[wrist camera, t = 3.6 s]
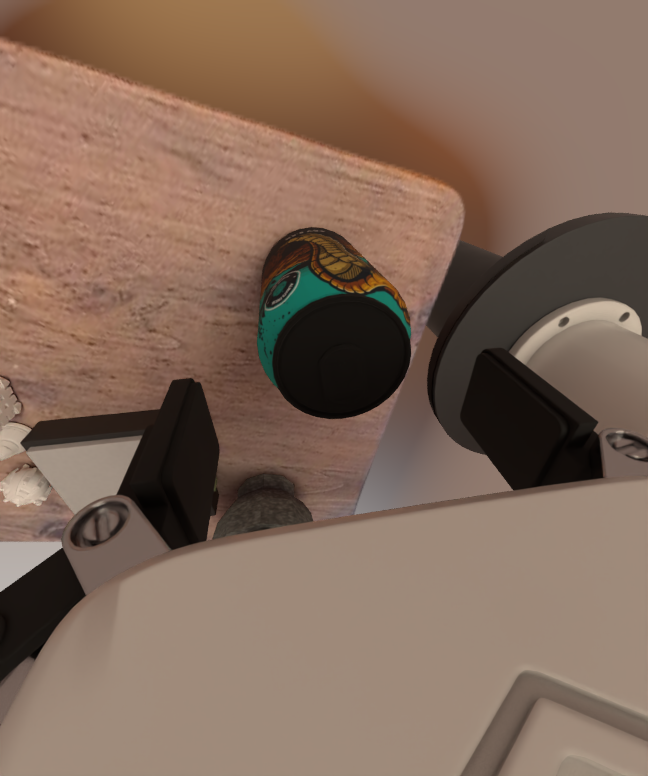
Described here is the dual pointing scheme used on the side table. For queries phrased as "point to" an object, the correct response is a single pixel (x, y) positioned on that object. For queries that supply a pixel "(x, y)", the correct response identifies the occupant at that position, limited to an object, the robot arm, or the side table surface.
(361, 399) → the beverage can
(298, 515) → the mortar and pestle
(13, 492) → the game pieces
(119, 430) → the scale
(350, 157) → the side table surface
